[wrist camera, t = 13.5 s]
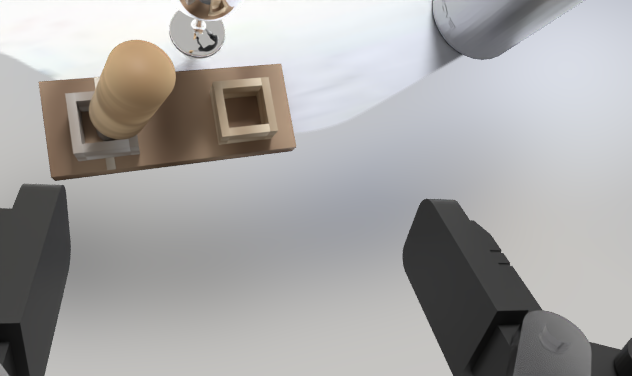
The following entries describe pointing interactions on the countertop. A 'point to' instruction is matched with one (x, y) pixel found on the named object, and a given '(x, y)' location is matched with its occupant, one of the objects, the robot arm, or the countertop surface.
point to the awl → (130, 89)
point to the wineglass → (200, 25)
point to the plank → (172, 123)
